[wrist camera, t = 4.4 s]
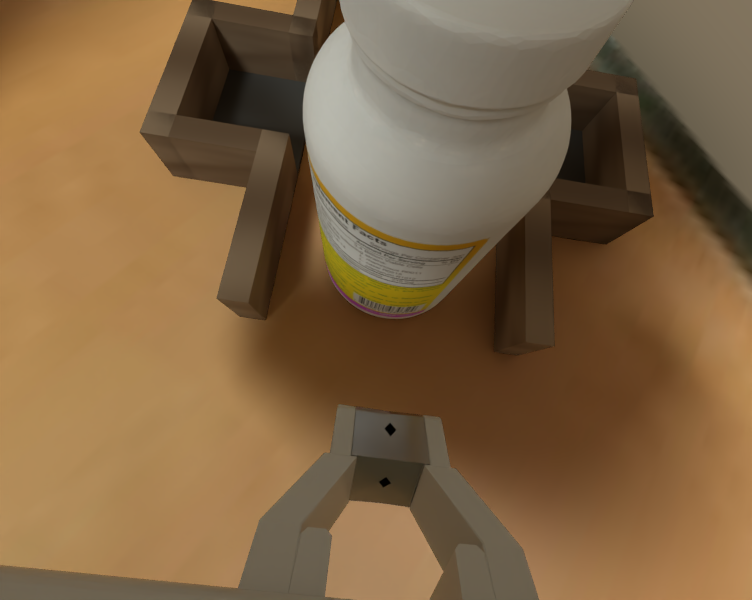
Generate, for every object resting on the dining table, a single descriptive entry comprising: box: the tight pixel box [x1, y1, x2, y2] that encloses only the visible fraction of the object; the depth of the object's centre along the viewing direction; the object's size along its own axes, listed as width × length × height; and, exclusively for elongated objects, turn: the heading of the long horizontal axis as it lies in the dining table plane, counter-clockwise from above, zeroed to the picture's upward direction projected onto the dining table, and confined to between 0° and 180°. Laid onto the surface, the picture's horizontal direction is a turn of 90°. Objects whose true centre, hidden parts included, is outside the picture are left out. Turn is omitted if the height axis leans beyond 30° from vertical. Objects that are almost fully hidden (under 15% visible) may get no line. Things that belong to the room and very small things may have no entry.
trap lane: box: [140, 0, 654, 355], centre depth 18 cm, size 23×23×4 cm
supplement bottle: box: [303, 0, 634, 319], centre depth 11 cm, size 7×7×13 cm
